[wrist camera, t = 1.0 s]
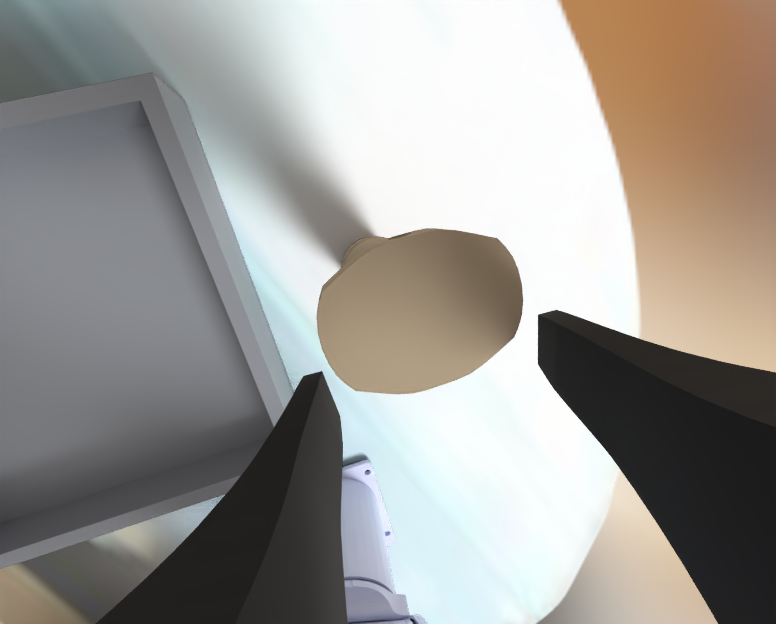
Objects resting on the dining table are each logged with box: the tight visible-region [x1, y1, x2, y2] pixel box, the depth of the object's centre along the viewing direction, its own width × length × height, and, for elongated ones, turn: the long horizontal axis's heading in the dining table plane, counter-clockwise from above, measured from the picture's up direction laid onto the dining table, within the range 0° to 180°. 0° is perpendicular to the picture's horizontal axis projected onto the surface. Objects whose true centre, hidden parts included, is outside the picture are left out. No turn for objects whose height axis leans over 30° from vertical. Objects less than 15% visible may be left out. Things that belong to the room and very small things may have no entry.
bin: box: [0, 73, 294, 569], centre depth 20 cm, size 24×24×4 cm
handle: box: [317, 229, 523, 394], centre depth 17 cm, size 5×6×15 cm
